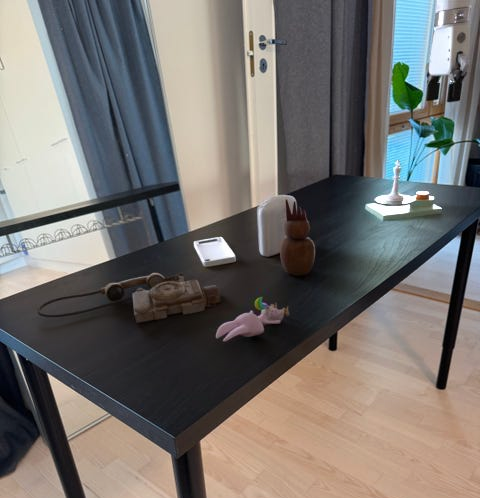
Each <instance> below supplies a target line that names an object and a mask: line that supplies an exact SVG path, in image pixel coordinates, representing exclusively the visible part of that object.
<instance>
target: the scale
mask: <svg viewBox="0 0 480 498" xmlns="http://www.w3.org/2000/svg"><path fill="white" fill-rule="evenodd" d="M411 197H413V198H414V202H413V203H412V204H410V205H406V206H396V207H391V206H382V205H378V204H376V203H375V202H374V203H366V204H365V207H364V209H365V210H366V211H367V212H369V213H370V214H372V215H373V216H375V217H376V218H378V219H379V220H381V221H382V222H384V221H393V220H399V219H409V218H416V217H422V216H430V215H439V214H442V212H443V211H442V210H443V208H442V207H440V206H438V205H436V204H435V198H436V197H434V196H432V195H429V199H427V200H418V199H416V195H413V196H411Z"/></svg>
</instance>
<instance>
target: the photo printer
mask: <svg viewBox="0 0 480 498" xmlns="http://www.w3.org/2000/svg"><path fill="white" fill-rule="evenodd" d="M286 199H287V200H288V204H289V207H290V210H291V213H292V212H293V204H294V201H295V203H296V209H297V210H298V204H297V200H296V198H295V197H294V196H292V195H287V194H278V195H275V196H272V197H269V198H267V199H266V200H264V201H263V202H262V203H261V204H259V205H258V207H257V209H256V218H257V219H256V220H257V235H258V236H257V237H258V238H257V239H258V251H259V253H260V255H261V256H263V257H268V258H269V257H272V256H275V255H278V254H280V247H281V242H282V240H283V239H284V238H285V237H287V236H286V235H285V231H284V225H285V222H286V221H287V218H286Z"/></svg>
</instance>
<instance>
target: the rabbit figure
mask: <svg viewBox="0 0 480 498" xmlns="http://www.w3.org/2000/svg"><path fill="white" fill-rule="evenodd" d="M277 304H278V303H277V302H275V304H274V303H271V304H270V305H268V304H267V303H266V302H263V296H260V297H258V298H257V299H255V301H254V308H255V309H256V310H259V311H261V313H260V315H256V314H255V313H254V310H250V311H249V312H245V313H241V314H240V315H238V316H237V317H236V318H235V319H234V320H232V321H227V322H224V323H222V324H221V325H220V326H218V329H217V330H216V333H215V338H216V339H220V338H221V337H223V336H225V337H224V338H223V340H222V342H224V343H225V342H227V341H229V340H231V339H232V338H235V337H237V336H239V335H240V336H242V337H245V338H250V337H255V336H259V335H261V334H263V333H264V332H265V328H264V326H267V325H277V324H281V322H282V321H283V320H284V317H285V316H284V315H287V316H290V311H289V306H286V308H285V307H283V308H282V309H278V305H277ZM226 334H227V335H226Z"/></svg>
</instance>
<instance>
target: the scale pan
mask: <svg viewBox="0 0 480 498" xmlns="http://www.w3.org/2000/svg"><path fill="white" fill-rule="evenodd" d="M386 195H387V194H384V195H380V196H377V197H375V198H374V203H376V204H378V205H382V206H391V207H396V206H406V205H410V204H412V203H413V202H414V198H413V197H412V196H410V195H406V194H402V195H403V196H404V200H402V201H387V200H385V196H386Z"/></svg>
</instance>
